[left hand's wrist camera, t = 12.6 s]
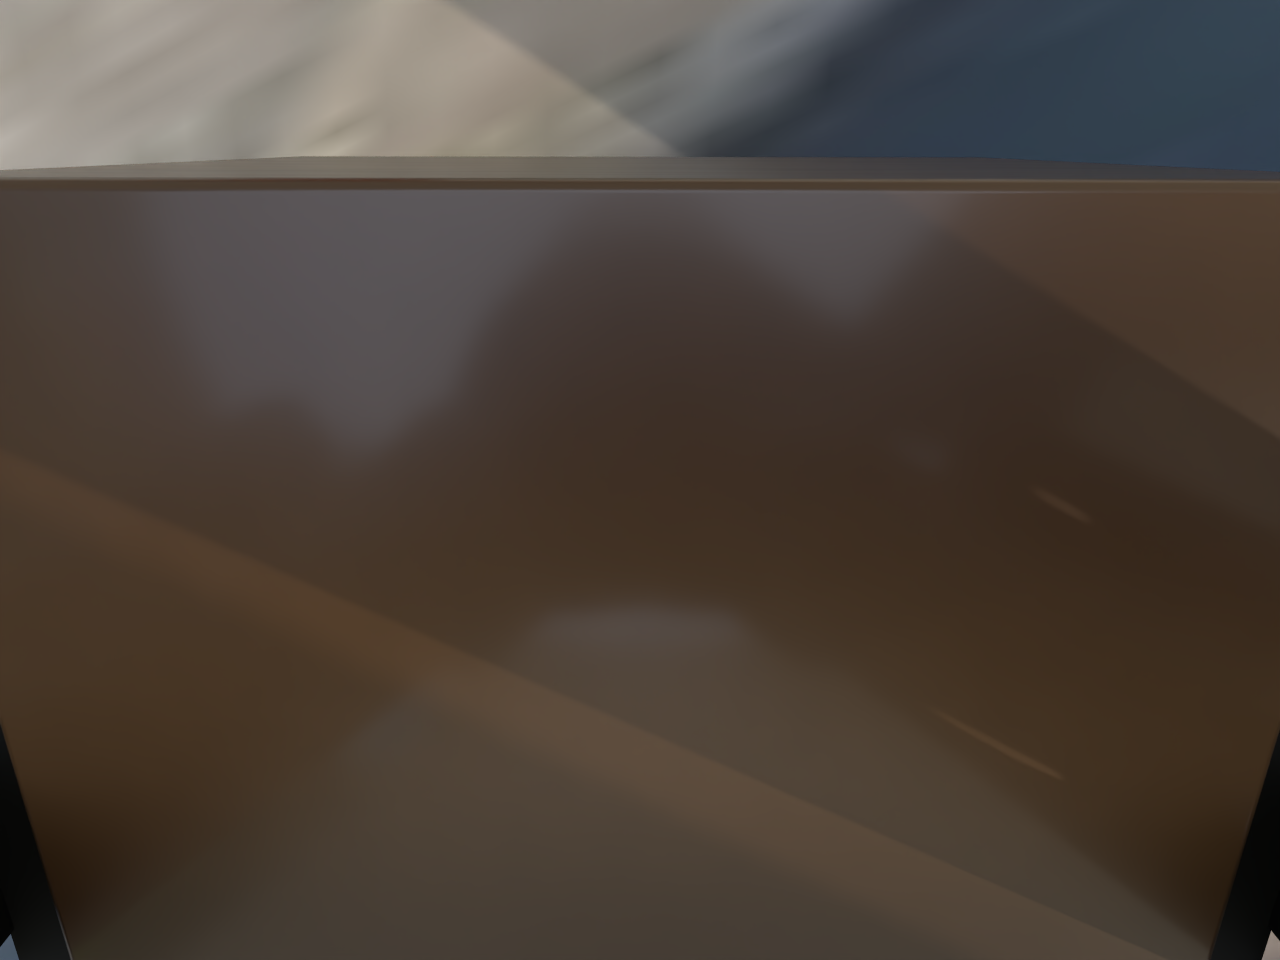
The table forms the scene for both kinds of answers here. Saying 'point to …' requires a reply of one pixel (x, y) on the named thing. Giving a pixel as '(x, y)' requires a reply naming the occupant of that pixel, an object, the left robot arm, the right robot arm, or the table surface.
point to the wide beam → (639, 554)
